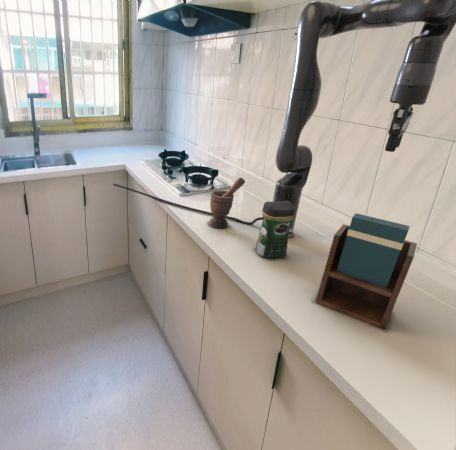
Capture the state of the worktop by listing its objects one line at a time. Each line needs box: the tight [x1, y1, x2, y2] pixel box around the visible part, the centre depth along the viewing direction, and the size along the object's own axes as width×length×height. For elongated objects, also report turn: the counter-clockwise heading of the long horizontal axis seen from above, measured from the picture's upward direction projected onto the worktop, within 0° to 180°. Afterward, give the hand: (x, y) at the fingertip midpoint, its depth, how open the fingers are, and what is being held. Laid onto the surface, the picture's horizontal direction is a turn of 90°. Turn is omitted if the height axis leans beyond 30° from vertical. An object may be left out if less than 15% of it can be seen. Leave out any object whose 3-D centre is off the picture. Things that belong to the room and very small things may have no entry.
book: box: [337, 212, 411, 288], centre depth 81 cm, size 11×4×15 cm, turn 51°
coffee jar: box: [255, 201, 295, 259], centre depth 111 cm, size 10×8×19 cm
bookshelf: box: [315, 223, 418, 331], centre depth 85 cm, size 16×9×20 cm, turn 50°
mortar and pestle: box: [208, 177, 246, 229], centre depth 131 cm, size 12×9×20 cm
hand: (391, 149), depth 90 cm, fingers open, 8 cm apart
